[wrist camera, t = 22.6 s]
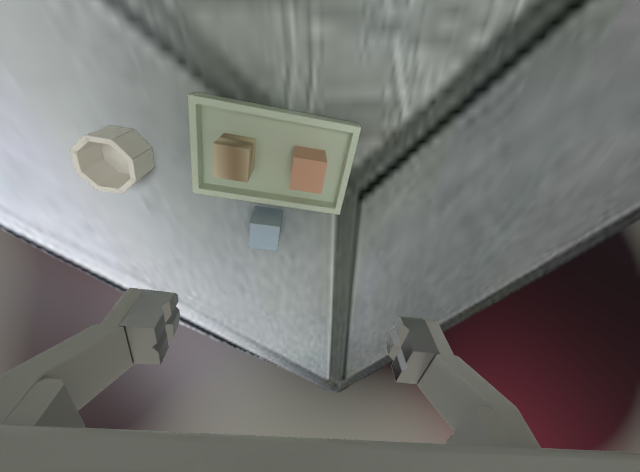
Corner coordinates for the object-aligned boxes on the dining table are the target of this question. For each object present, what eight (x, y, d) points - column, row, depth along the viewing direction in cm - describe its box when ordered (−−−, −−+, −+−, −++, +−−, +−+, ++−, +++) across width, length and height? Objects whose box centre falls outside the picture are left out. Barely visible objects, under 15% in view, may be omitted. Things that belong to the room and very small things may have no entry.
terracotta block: (290, 174, 40) (289, 189, 35) (294, 145, 38) (293, 157, 33) (319, 179, 40) (321, 194, 36) (325, 150, 38) (327, 162, 34)
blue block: (254, 229, 45) (248, 247, 41) (255, 206, 43) (249, 223, 39) (279, 232, 45) (277, 251, 41) (282, 210, 43) (280, 227, 39)
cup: (104, 173, 39) (80, 187, 35) (93, 122, 36) (65, 131, 32) (156, 180, 40) (138, 196, 36) (150, 132, 37) (129, 142, 32)
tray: (198, 185, 41) (192, 193, 38) (195, 91, 34) (187, 94, 32) (337, 206, 43) (339, 214, 41) (358, 123, 37) (361, 127, 35)
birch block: (223, 163, 39) (213, 177, 34) (223, 132, 36) (212, 143, 32) (253, 168, 39) (247, 182, 35) (256, 138, 37) (249, 149, 33)
